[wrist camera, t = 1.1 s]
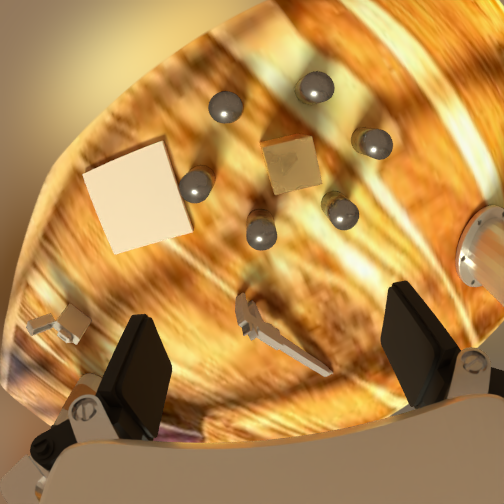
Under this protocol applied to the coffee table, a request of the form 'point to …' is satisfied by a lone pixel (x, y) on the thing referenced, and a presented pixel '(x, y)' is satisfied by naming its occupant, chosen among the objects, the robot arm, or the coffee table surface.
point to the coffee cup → (79, 394)
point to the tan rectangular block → (291, 163)
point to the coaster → (138, 199)
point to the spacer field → (333, 203)
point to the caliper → (272, 335)
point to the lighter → (62, 324)
